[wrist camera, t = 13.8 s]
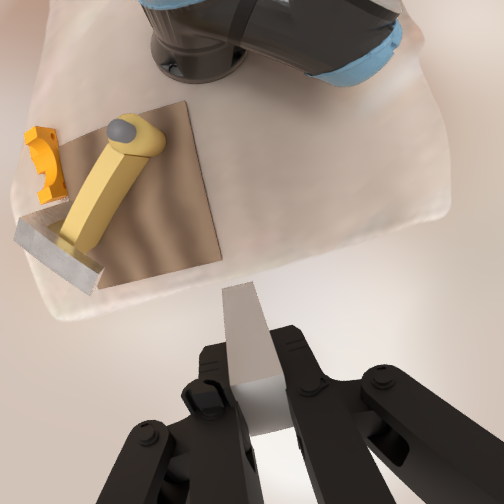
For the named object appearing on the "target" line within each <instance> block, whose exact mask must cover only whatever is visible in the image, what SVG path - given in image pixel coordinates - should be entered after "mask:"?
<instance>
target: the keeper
mask: <svg viewBox="0 0 504 504" xmlns="http://www.w3.org/2000/svg"><path fill="white" fill-rule="evenodd" d="M74 201H75V200H72V201H68V202H65V203H62V204H58V205H55V206H52V207H49V208H46V209H43V210H40V211H37V212H34V213H31V214H28V215H25V216H22V217H20V218H19V221H18V225H17V228H16V232H15V236H14V241H15V242H17V243H18V244H19V245H20V246H21V247H23V248H24V249H25V250H26V251H27V252H29V253H30V254H31V255H33V256H34V257H35V258H36V259H38V260H39V261H40V262H42V263H43V264H44V265H46V266H47V267H48V268H50V269H51V270H52V271H54V272H55V273H57V274H58V275H59V276H61V277H62V278H64V279H65V280H66V281H68V282H69V283H71V284H72V285H74V286H75V287H77V288H78V289H80V290H81V291H83V292H84V293H86V294H87V295H89V296H90V295H91V294H92V292H93V291H94V290H95V289H96V287H97V285H98V282H99V280H100V278H101V275H102V273H103V271H104V268H105V267H103V266H102V265H100V264H99V263H97V262H96V261H94V260H92V259H91V258H89V257H88V256H86V255H85V254H83V253H82V252H80V251H79V250H78V249H76V248H75V247H73V246H72V245H70V244H69V243H67V242H66V241H65V240H63V239H62V238H60V237H59V236H58V235H59V233H60V231H61V228H62V226H63V224H64V222H65V220H66V218H67V215H68V213H69V211H70V209H71V207H72V205H73V203H74Z"/></svg>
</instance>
